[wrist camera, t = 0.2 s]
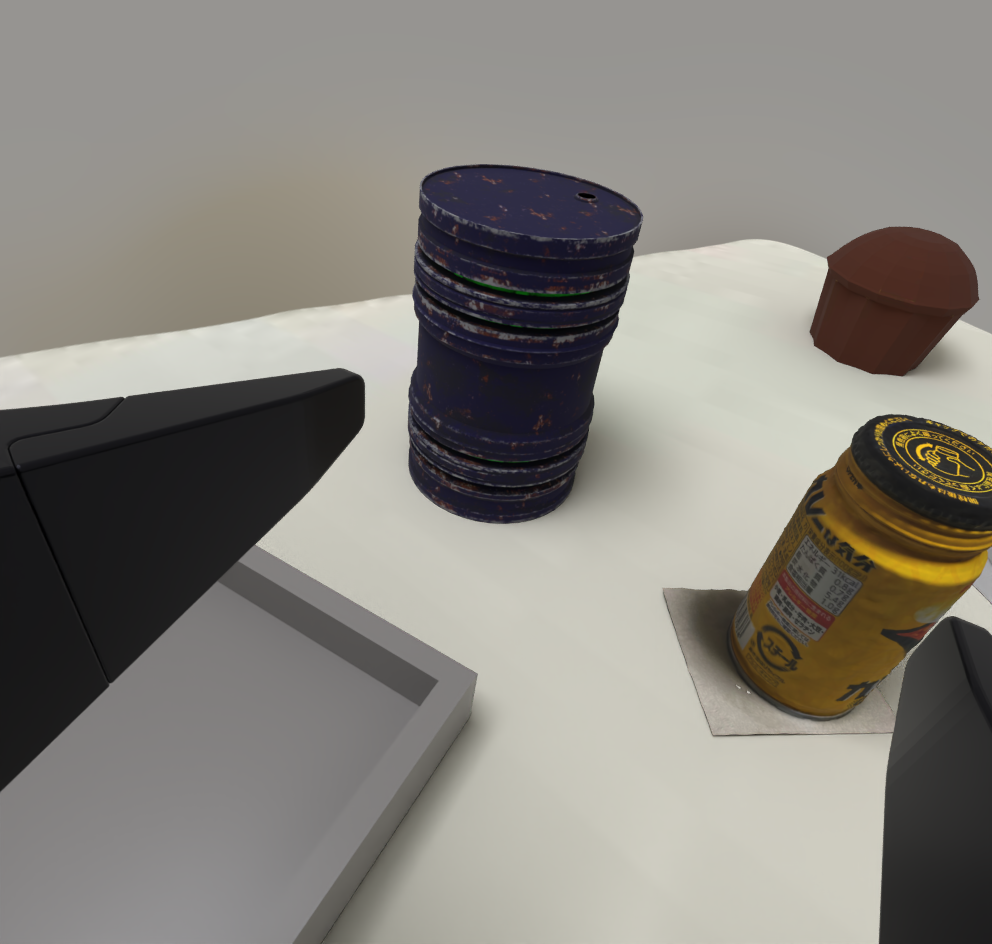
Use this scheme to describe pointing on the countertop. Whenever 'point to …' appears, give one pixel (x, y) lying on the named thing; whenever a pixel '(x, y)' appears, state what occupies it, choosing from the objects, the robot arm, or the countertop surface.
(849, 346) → the muffin
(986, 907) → the robot arm
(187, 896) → the tray
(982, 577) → the french press
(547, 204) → the storage jar
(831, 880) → the countertop surface
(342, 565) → the countertop surface
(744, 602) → the condiment
